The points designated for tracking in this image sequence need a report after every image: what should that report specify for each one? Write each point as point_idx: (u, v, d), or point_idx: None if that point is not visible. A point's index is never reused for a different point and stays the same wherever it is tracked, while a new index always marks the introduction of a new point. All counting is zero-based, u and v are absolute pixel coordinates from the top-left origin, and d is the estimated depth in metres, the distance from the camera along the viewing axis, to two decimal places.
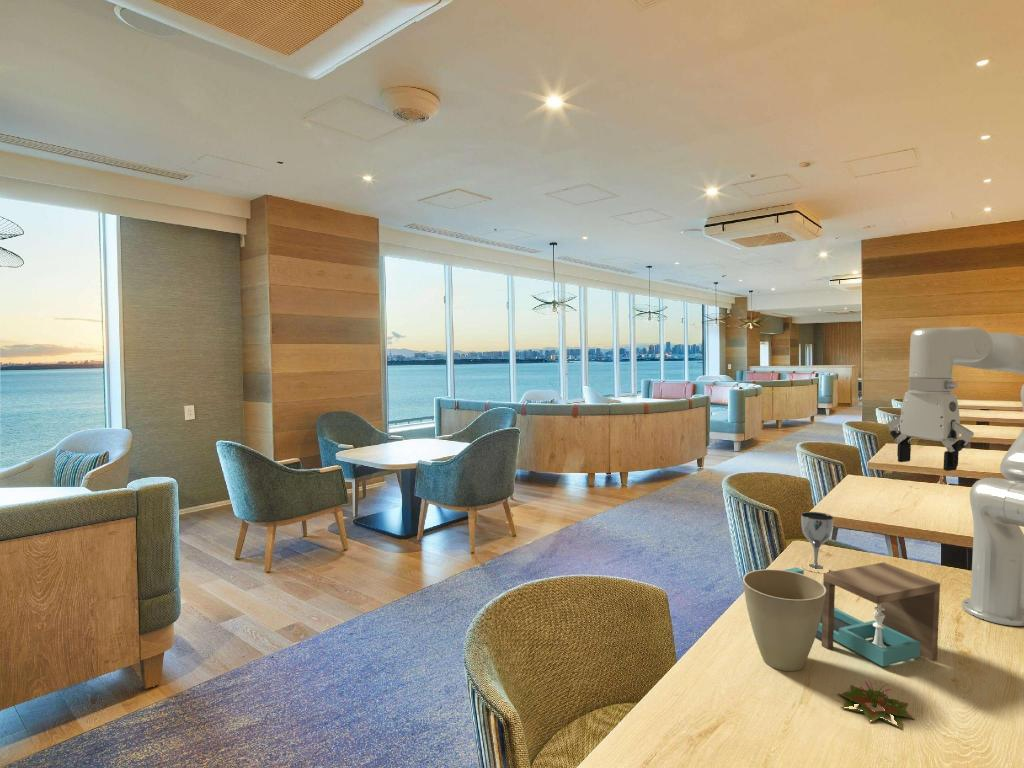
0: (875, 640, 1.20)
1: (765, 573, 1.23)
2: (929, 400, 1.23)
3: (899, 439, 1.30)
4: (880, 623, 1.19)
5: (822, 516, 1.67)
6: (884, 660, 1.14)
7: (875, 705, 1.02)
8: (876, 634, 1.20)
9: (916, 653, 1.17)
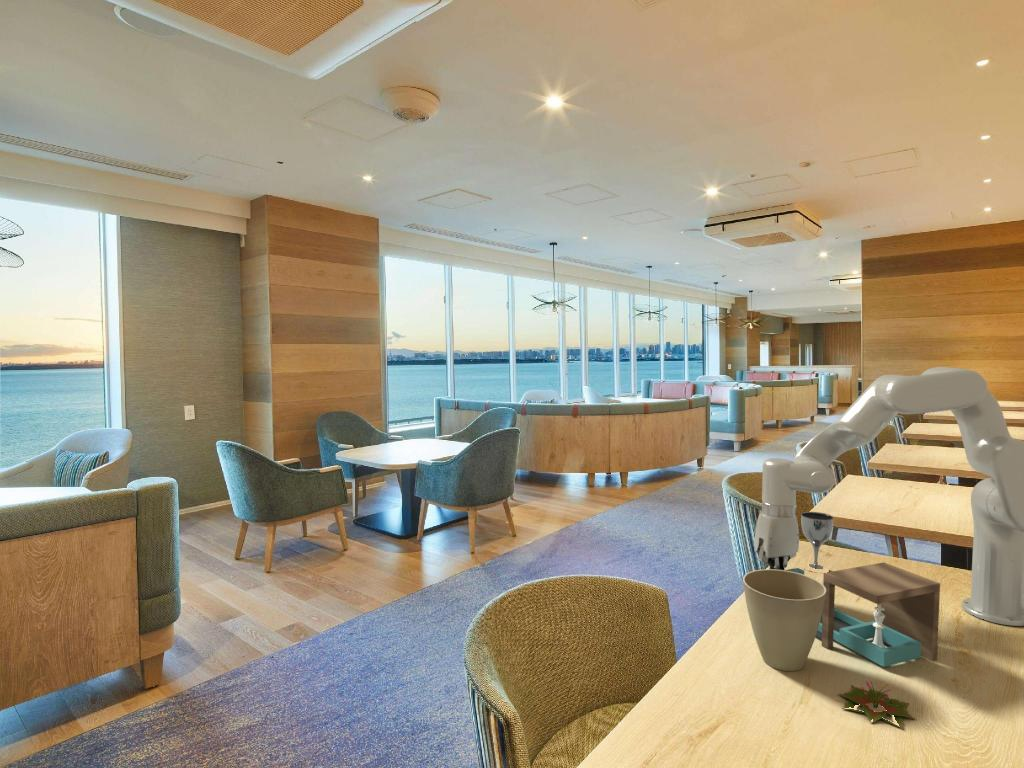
0: (875, 640, 1.20)
1: (765, 573, 1.23)
2: (791, 522, 1.43)
3: (777, 564, 1.44)
4: (880, 623, 1.19)
5: (822, 516, 1.67)
6: (885, 661, 1.14)
7: (876, 705, 1.02)
8: (876, 634, 1.20)
9: (916, 654, 1.16)
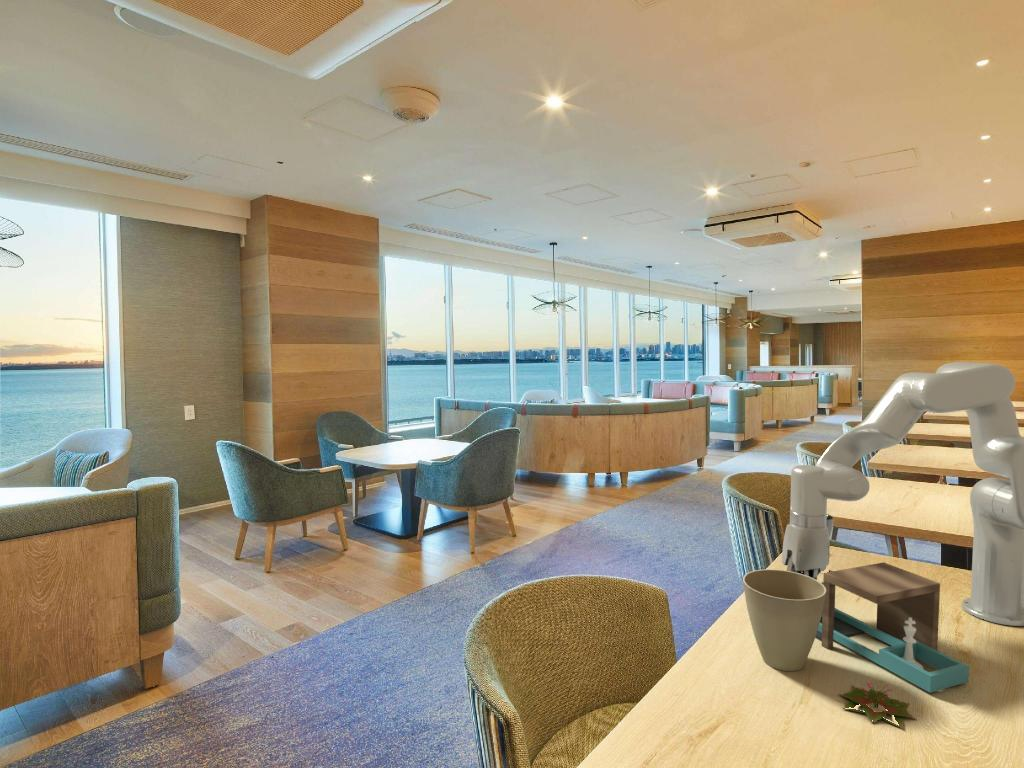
0: (906, 655, 1.14)
1: (765, 573, 1.23)
2: (821, 533, 1.34)
3: None
4: (911, 637, 1.13)
5: None
6: (932, 686, 1.05)
7: (877, 705, 1.02)
8: (907, 649, 1.14)
9: (964, 678, 1.08)
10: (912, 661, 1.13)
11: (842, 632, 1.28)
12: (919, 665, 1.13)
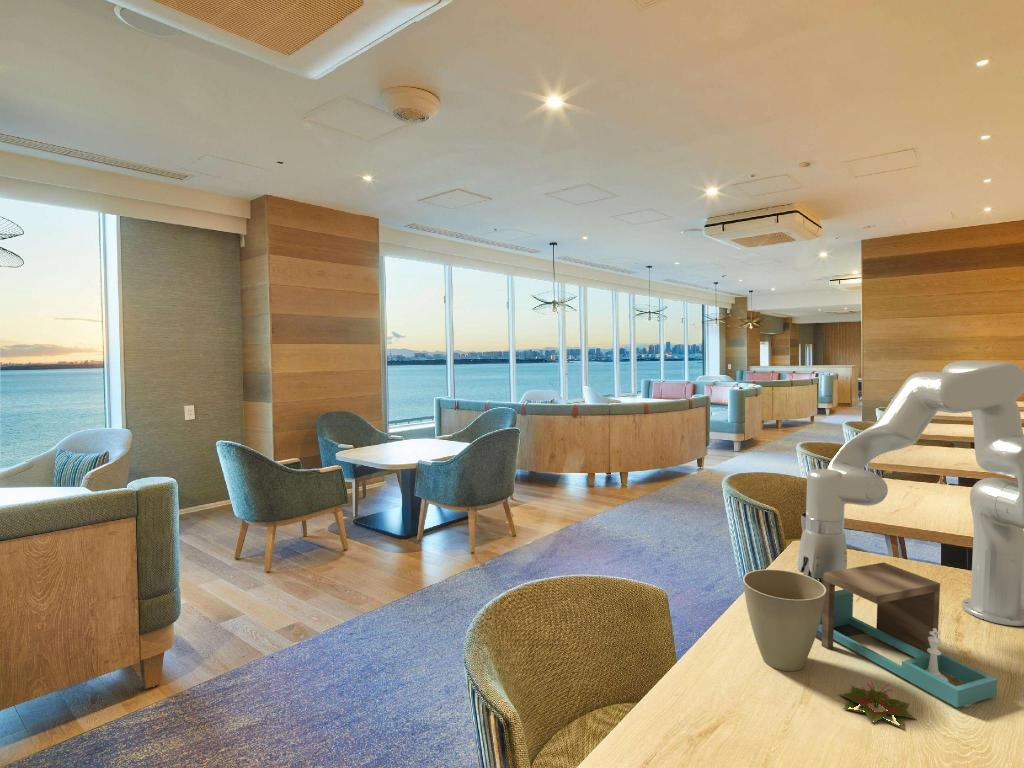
0: (931, 668, 1.09)
1: (765, 573, 1.23)
2: (839, 540, 1.30)
3: None
4: (936, 649, 1.09)
5: None
6: (959, 700, 1.01)
7: (877, 705, 1.02)
8: (932, 661, 1.09)
9: (992, 692, 1.04)
10: (937, 673, 1.09)
11: (842, 632, 1.28)
12: (944, 677, 1.09)
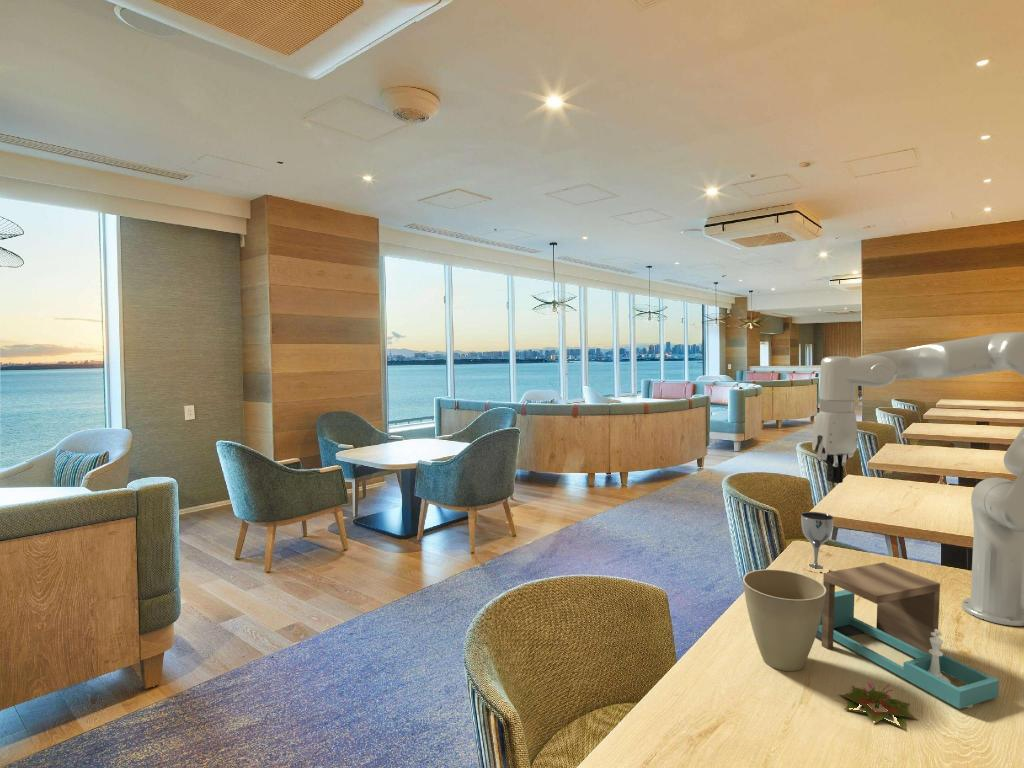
0: (932, 669, 1.09)
1: (765, 573, 1.23)
2: (850, 419, 1.41)
3: (836, 462, 1.42)
4: (938, 650, 1.09)
5: (822, 516, 1.67)
6: (961, 702, 1.01)
7: (878, 706, 1.02)
8: (933, 662, 1.09)
9: (994, 693, 1.03)
10: (939, 674, 1.09)
11: (842, 632, 1.28)
12: (946, 678, 1.09)
